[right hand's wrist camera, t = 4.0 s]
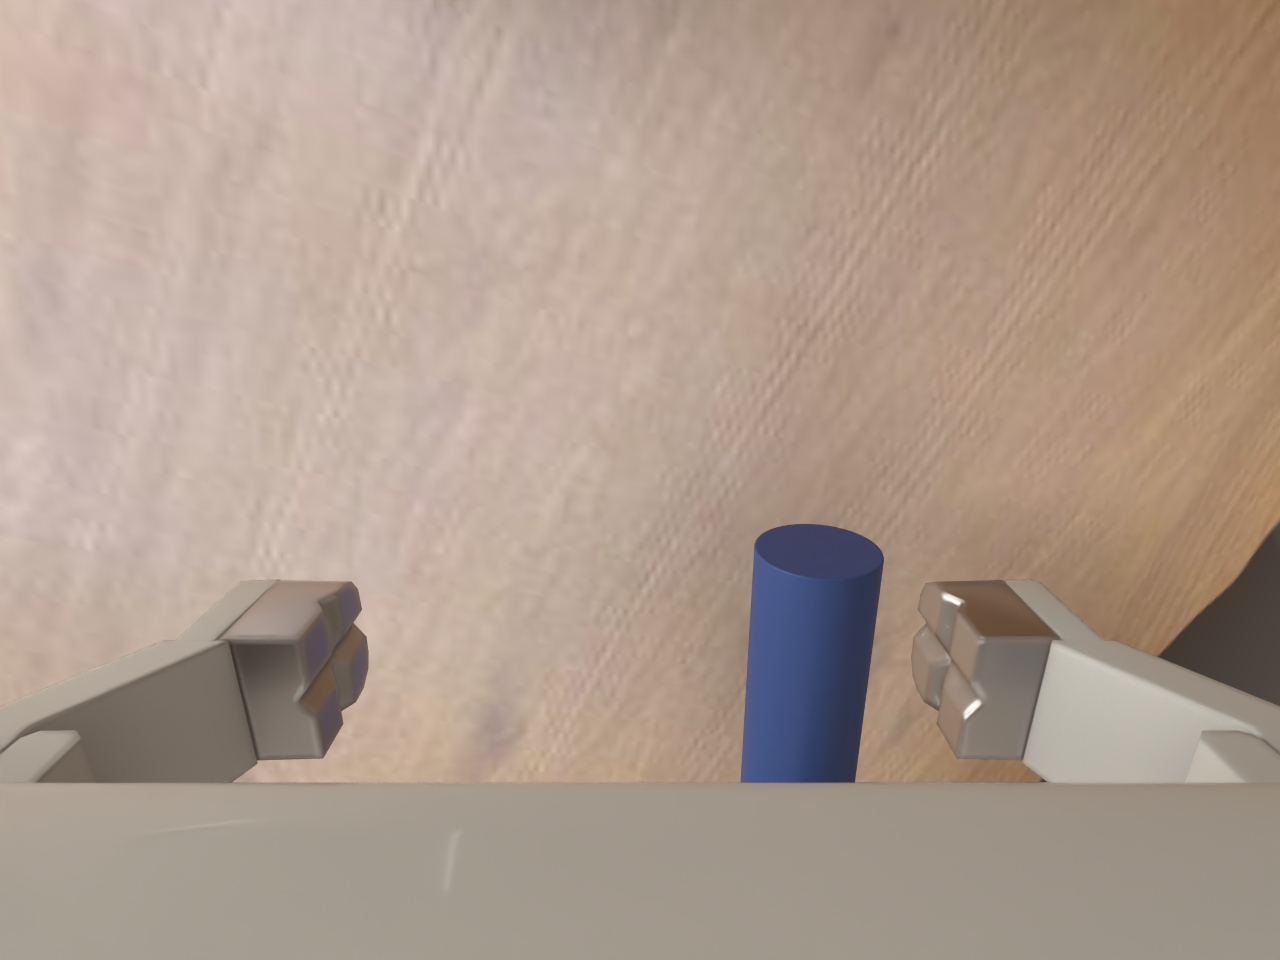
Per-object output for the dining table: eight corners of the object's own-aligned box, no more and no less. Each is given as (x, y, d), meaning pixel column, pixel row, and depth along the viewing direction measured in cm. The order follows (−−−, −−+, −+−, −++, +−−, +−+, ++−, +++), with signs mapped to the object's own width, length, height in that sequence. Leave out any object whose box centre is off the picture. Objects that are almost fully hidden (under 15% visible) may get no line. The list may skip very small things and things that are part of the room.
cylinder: (745, 524, 37) (767, 580, 31) (861, 522, 37) (903, 578, 32) (727, 872, 46) (741, 966, 40) (820, 871, 46) (848, 964, 40)
